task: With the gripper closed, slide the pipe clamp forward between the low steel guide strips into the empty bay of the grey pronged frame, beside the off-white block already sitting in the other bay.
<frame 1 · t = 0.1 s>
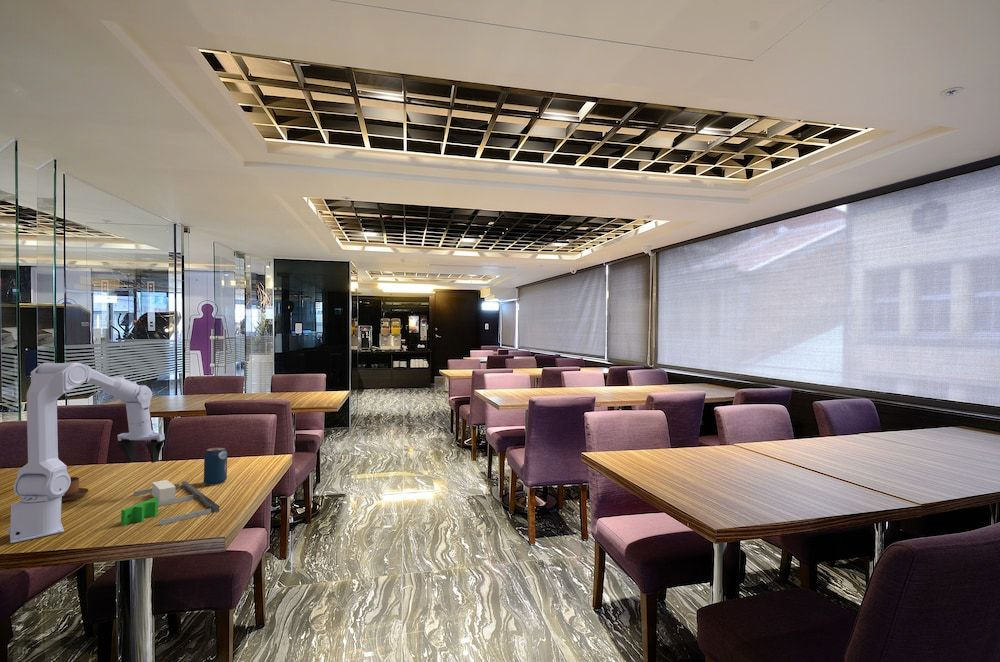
hand: (144, 461, 149), 11 cm above the table, tool pointing down, fingers open, 7 cm apart
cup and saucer: (62, 500, 144), on the table
pipe clamp: (143, 519, 128), on the table
soda can: (215, 483, 161), on the table
grey pronged frame: (170, 503, 140), on the table
seated block: (163, 497, 146), on the table
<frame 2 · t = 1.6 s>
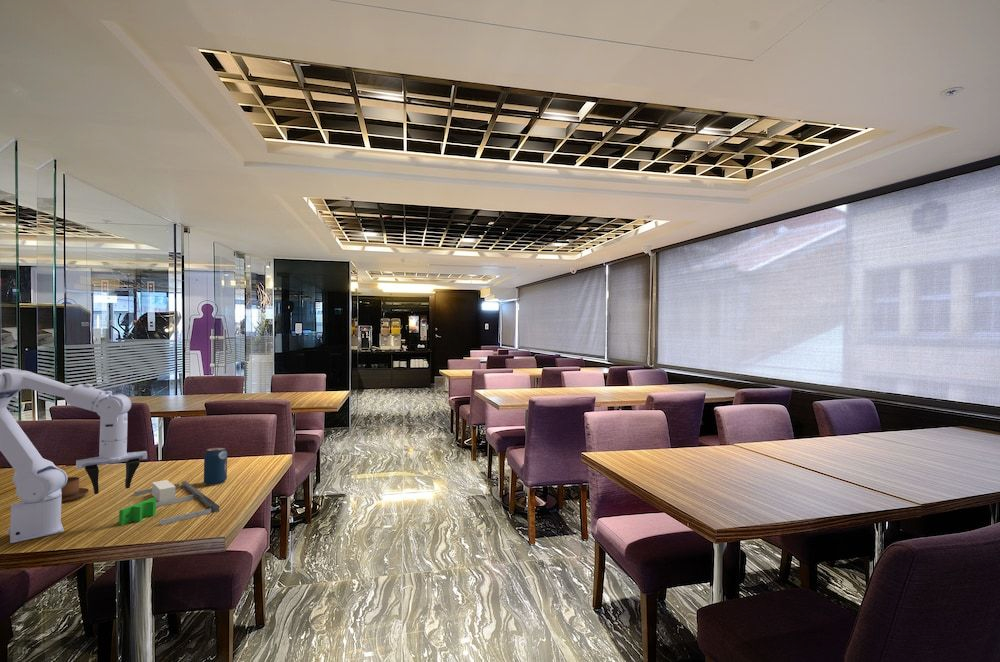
hand: (112, 490, 123), 9 cm above the table, tool pointing down, fingers open, 6 cm apart
nothing on the table moved.
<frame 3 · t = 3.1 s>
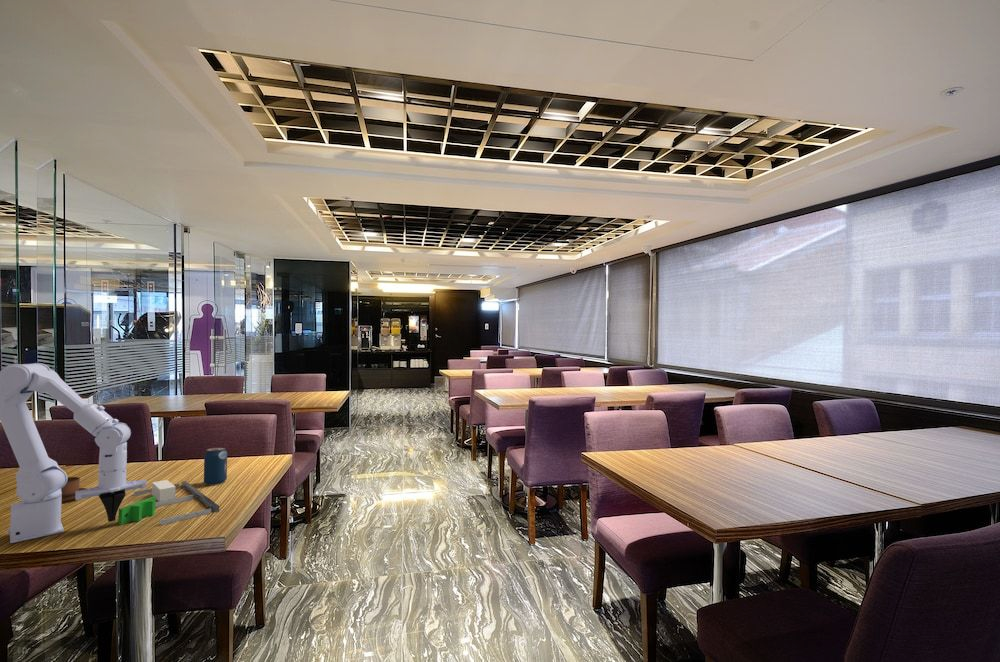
hand: (111, 520, 123), 1 cm above the table, tool pointing down, fingers closed
pipe clamp: (140, 518, 128), on the table, touching gripper
everything else where it was.
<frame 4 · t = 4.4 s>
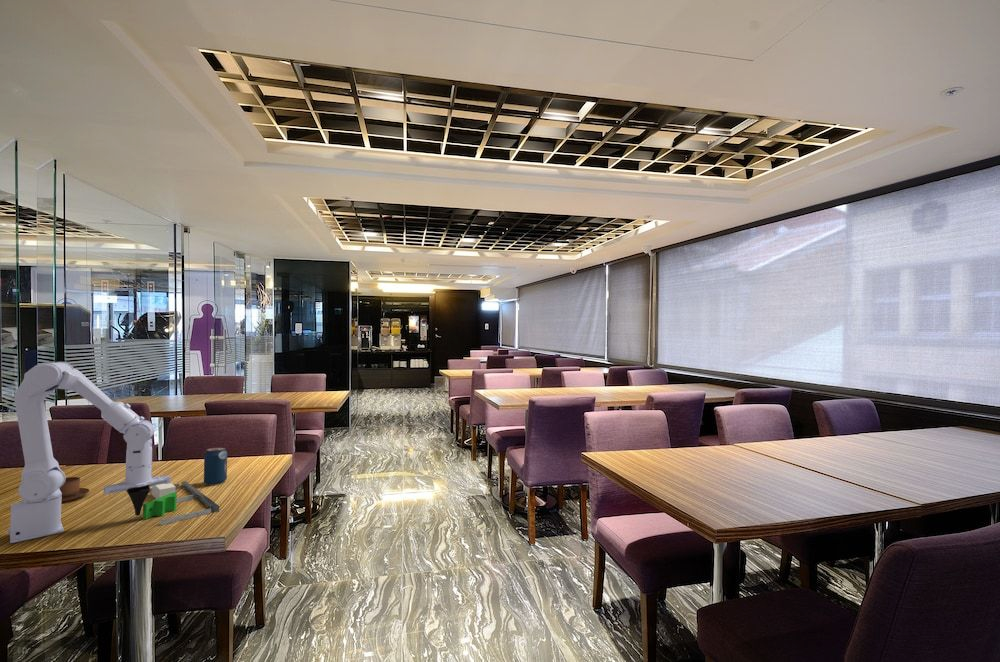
hand: (137, 514, 127), 1 cm above the table, tool pointing down, fingers closed
pipe clamp: (163, 513, 132), on the table, touching gripper
everything else where it was.
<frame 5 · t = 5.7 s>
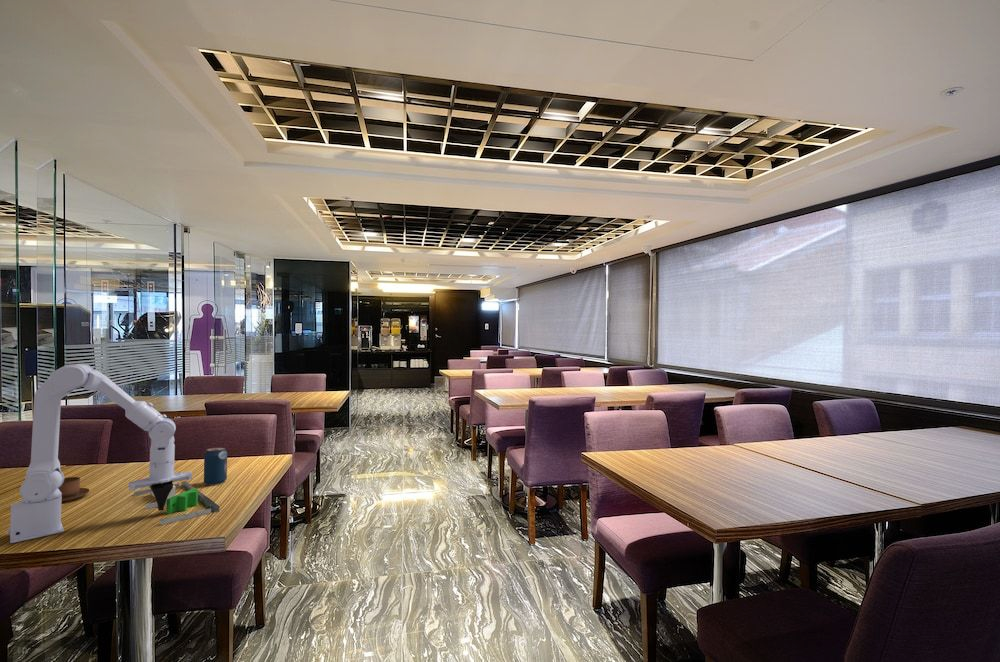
hand: (160, 509, 131), 1 cm above the table, tool pointing down, fingers closed
pipe clamp: (185, 508, 136), on the table, touching gripper
everything else where it was.
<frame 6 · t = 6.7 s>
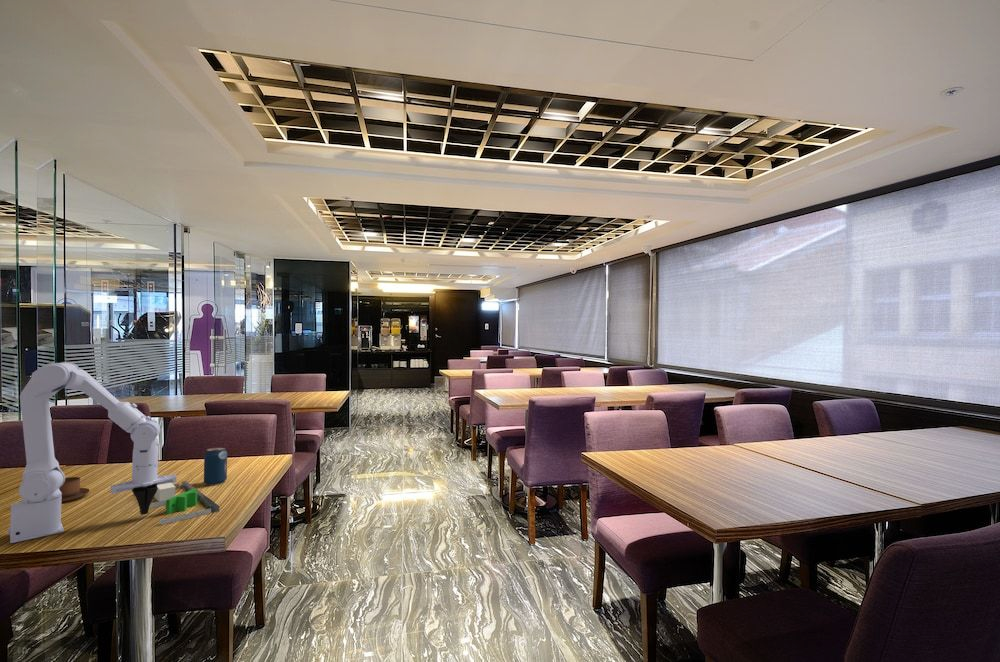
hand: (144, 513, 128), 1 cm above the table, tool pointing down, fingers closed
pipe clamp: (184, 509, 136), on the table
everything else where it was.
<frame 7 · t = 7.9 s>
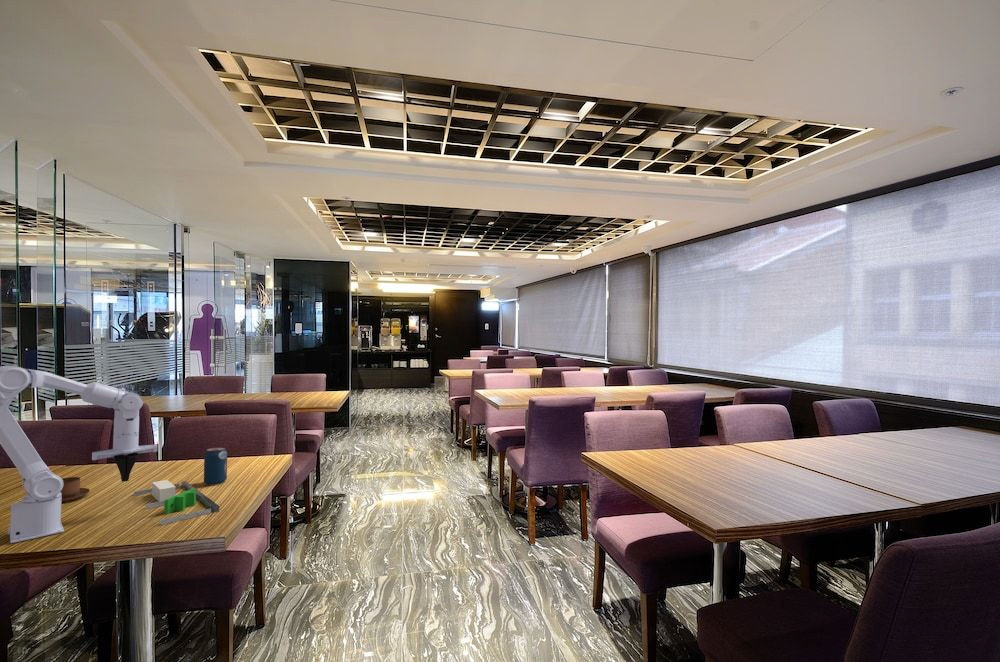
hand: (124, 480, 132), 9 cm above the table, tool pointing down, fingers closed
nothing on the table moved.
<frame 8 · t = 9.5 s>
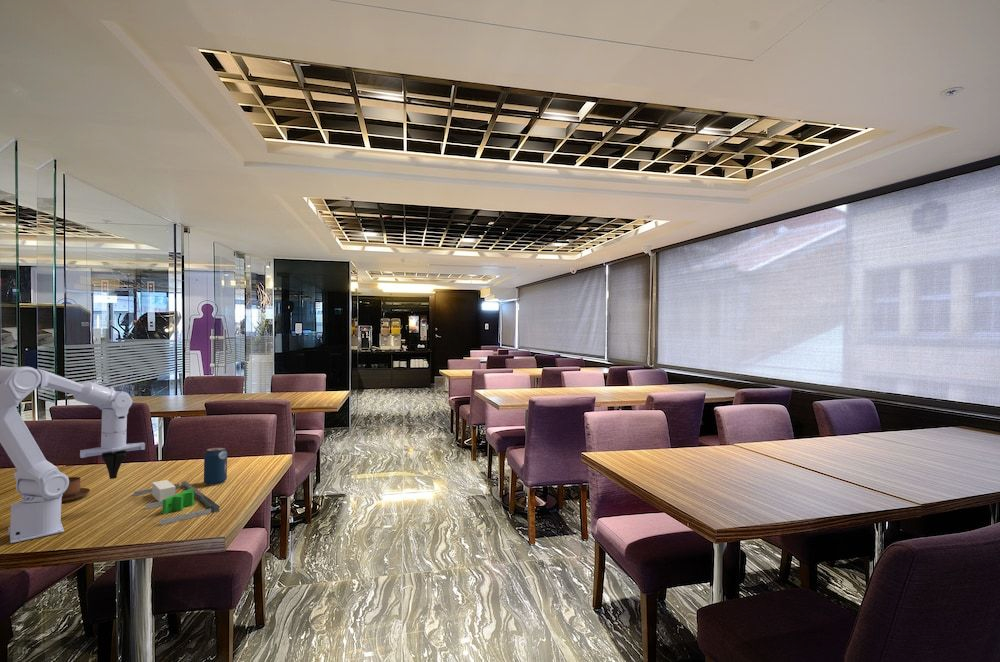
hand: (112, 477, 134), 9 cm above the table, tool pointing down, fingers closed
at the end: pipe clamp inside the target area on the grey pronged frame (2.4 cm from its centre), point 0.0 cm above the grey pronged frame's base; pipe clamp moved 9.6 cm from its start; the gripper is holding nothing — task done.
